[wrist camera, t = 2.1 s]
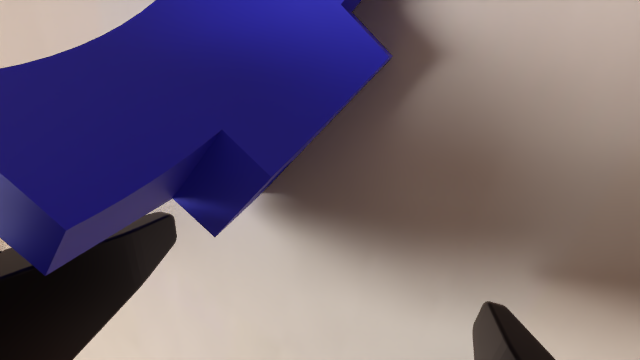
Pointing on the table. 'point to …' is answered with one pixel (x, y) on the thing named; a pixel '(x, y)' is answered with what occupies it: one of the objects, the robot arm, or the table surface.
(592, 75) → the table surface
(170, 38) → the blue notched cradle
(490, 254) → the table surface
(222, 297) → the table surface
